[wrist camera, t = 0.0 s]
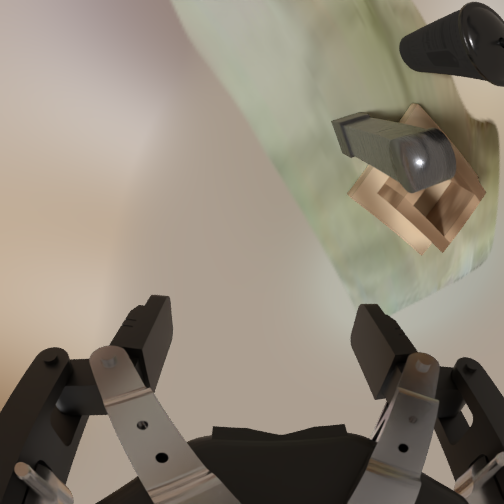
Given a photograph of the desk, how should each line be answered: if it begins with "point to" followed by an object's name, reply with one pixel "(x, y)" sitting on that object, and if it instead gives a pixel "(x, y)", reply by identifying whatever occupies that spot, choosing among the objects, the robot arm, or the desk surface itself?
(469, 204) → the wooden square box
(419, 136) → the ball topped joystick
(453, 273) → the desk surface
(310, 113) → the desk surface
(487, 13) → the drinking cup
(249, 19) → the desk surface
